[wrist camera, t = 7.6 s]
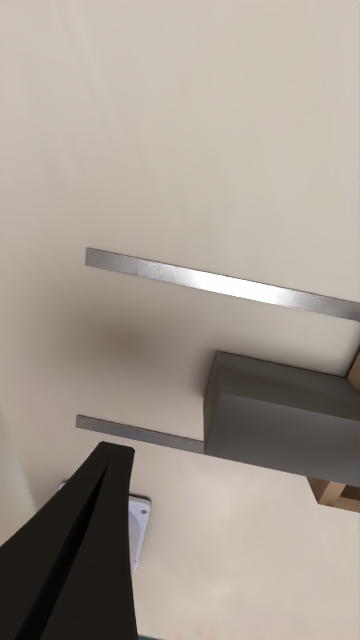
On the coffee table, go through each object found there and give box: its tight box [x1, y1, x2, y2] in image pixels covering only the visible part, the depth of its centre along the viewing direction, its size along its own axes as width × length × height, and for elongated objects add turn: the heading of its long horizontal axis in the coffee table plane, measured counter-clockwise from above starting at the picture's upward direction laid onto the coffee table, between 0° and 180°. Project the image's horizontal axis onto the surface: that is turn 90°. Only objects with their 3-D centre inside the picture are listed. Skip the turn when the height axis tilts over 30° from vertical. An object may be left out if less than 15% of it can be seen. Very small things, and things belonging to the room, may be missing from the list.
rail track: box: [76, 248, 360, 476], centre depth 17 cm, size 14×35×1 cm, turn 79°
